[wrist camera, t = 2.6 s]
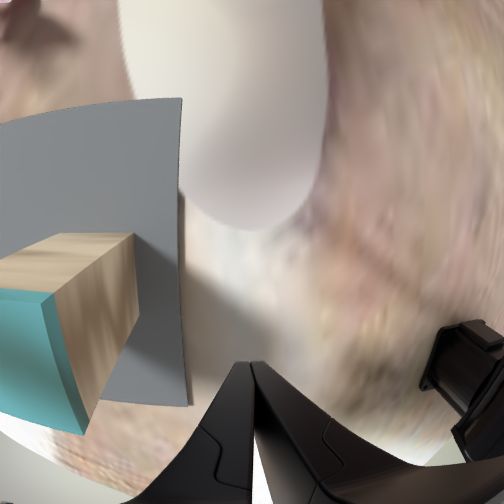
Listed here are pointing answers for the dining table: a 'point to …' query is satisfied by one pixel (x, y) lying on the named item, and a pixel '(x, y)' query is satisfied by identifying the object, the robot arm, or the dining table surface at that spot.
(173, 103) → the rubber mat
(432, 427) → the dining table surface
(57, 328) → the maple block
